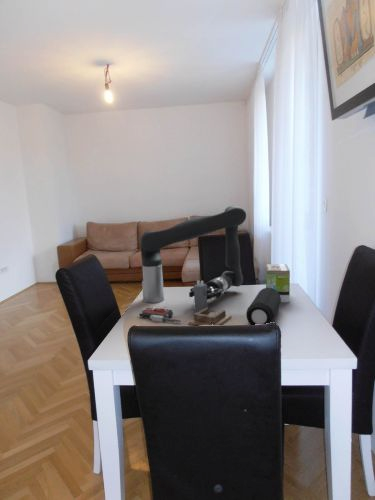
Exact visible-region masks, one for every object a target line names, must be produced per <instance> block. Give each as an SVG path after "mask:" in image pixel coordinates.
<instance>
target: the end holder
mask: <svg viewBox="0 0 375 500" xmlns="http://www.w3.org/2000/svg"><path fill="white" fill-rule="evenodd" d="M230 318H231V319H232V315H229V314H226V310H225V309H222V310H220V311H218V312H217V313H216V312H212V311H211V312H210V308H209V307H208V308H204V309H202V310H201V311H196V312H195V313H194V314H193V318H192V319H190V320H189V321H187V324H188V325H191V326H196V325H212V324H213V325H221V326H222V325H224V324H225V323H226V321H227V320H228V321H229V320H230ZM228 321H227V322H228ZM224 322H225V323H224ZM223 323H224V324H223Z"/></svg>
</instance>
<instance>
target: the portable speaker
mask: <svg viewBox="0 0 375 500" xmlns="http://www.w3.org/2000/svg"><path fill="white" fill-rule="evenodd" d="M281 304H282V302H281V297H280V294H279V293H278V292H277V291H276V290H275V289H272V288H266V287H264V288H262V289H260V290H259V291H258V293H257V294H256V296H255V298H253V300H252V302H251V303H250V305H249V306H248V308H247V310H246V319H247V320H246V321H247V322H248V325H250V326H251V325H255V324H266V323H270V322H272V323H273V322H274V320H275V317H276V316H277V313H278V311H279V308H280V306H281Z"/></svg>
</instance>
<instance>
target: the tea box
mask: <svg viewBox="0 0 375 500" xmlns="http://www.w3.org/2000/svg"><path fill="white" fill-rule="evenodd" d="M290 278H291V270H290V268H289V267H288V264H287V263H275V264H274V263H267V264H266V265H265V288H272V289H275V290H276V291H277V292H278V293H279V294H280V297H281V303H290V297H291V296H290V295H291V292H290V291H291V288H290V287H291V286H290V285H291V283H290V282H291V281H290V280H291V279H290Z"/></svg>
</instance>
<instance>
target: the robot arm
mask: <svg viewBox="0 0 375 500" xmlns="http://www.w3.org/2000/svg"><path fill="white" fill-rule="evenodd" d="M246 219H247V213H246V211H245V210H244V209H243V208H242V207H240V206H235V205H231V206H230V205H229V206H227V207H226V208H225V209H224V211H223V212H220V213H216V214H212V215H203V216H197V217H193V218H190V219H187V220H184V221H182V222H179V223H177V224H175V225H173V226H171V227H170V228H169V227H168V228H166V229H162V230H157V231H154V230H146V231H144V232H143V233H142V235H141V236H140V241H139V243H140V255H141V264H142V279H143V280H142V281H141V287H142V288H141V289H142V300H143V301H145V302H146V303H152V304H153V303H161V302H163V301H164V299H165V295H164V294H165V293H164V291H165V290H164V280H163V279H164V278H163V264H162V263H163V261H162V254H161V249H163V248H166V247H168V246H170V245H172V244H173V245H174V244H176V243H181V242H186V241H190V240H194V239H197V238H200V237H203V236H206V235H208V234H211V233H214V232H216V231H220V230H223V229H224V231H225V266H226V267H227V268H230V269H231V270H232V271H230V270H225V271H223V272H222V273H221V275H220V276H219V277H215V278H213V279H211V280H209V281H207V283H205V284H207V295H206V298H207V301H209V300H211V299H215V298H216V299H218V298H221V297H223V296H224V292H226V291H227V290H229V289H230V288H231V287H240V286H242V284H243V282H244V275H243V273H242V268H241V249H240V248H241V247H240V242H239V233H238V232H239V231H238V230H239V226H240V225H242V224H243V223H244V222H245V221H246ZM189 290H190V291H189V292H188V296H189V298H192V297H193V298H194V286H193V287H191V288H190V289H189Z"/></svg>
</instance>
